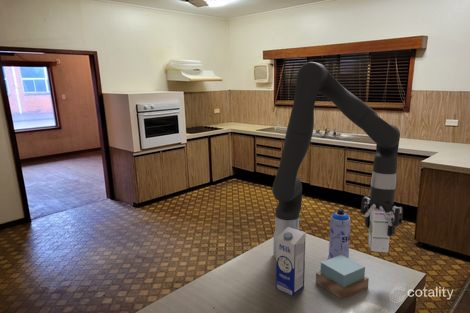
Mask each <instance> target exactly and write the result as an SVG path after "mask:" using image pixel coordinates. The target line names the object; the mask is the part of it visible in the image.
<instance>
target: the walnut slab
mask: <svg viewBox="0 0 470 313" xmlns="http://www.w3.org/2000/svg"><path fill="white" fill-rule="evenodd" d="M369 279H370V278H369V277H367V276H366V275H365V276H364V278H363V279H361V280H359V281H356V282H354V283H352V284H350V285H347V286H345V287H343V286H341V285H339V284H338V283H336V282H334V281H333V280H331V279H329V278H328V277H326V276H324V275H323V274H321V270H319V271H318V272H315V283H317V284H318V285H319V286H321V287H323V288H324V289H326V290H328V291H329V292H330V293H332V294H333V295H336V296H337V297H338V298H340V299H342V300H347V299H348V298H350V297H352V296H355V295H356V294H359V293H361V292H363V291H365V290H367V289H368V288H369V282H370V281H369Z"/></svg>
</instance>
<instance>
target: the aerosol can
mask: <svg viewBox="0 0 470 313" xmlns="http://www.w3.org/2000/svg"><path fill="white" fill-rule="evenodd" d="M329 219H330V220H329V221H330V222H329V243H328V256H327V258H328V260H329V259H331V258H334V257H337V256H339V255H343V256H345V257H347V258H349V257H350V255H349V254H350V240H351V238H350V236H351V220H352V219H351V218H350V216H349V214H347V213H346V212H345V209H342V208H341V209H337V212H334V213H333V214H331V216H330V218H329ZM349 259H350V258H349Z"/></svg>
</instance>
